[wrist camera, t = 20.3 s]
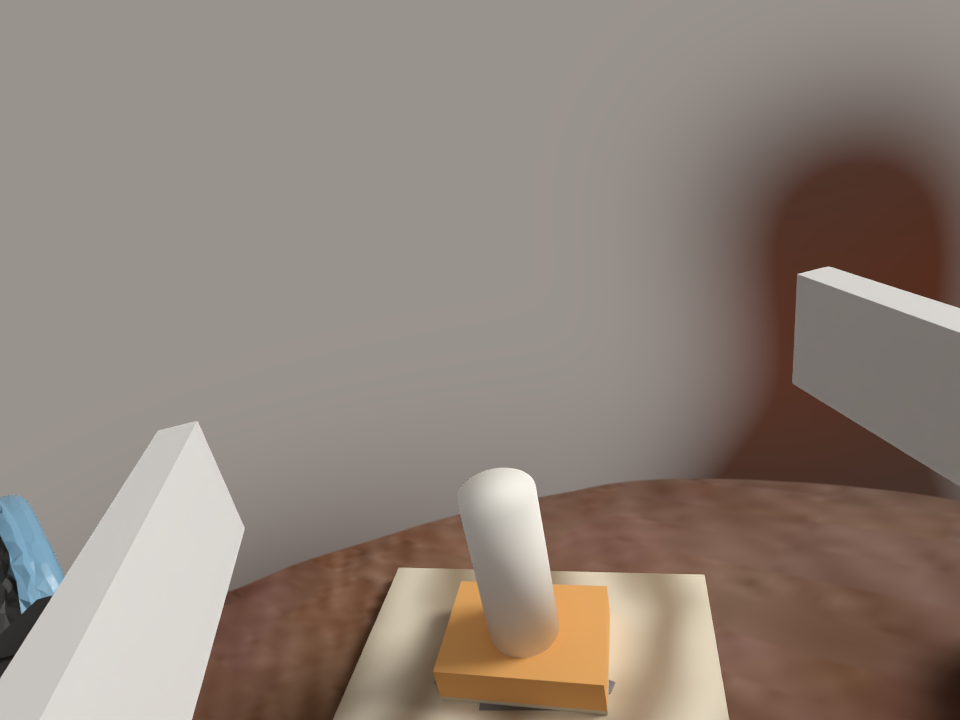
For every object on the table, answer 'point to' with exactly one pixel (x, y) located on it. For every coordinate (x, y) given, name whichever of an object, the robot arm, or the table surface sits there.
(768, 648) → the table surface
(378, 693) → the plywood board
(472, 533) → the block
